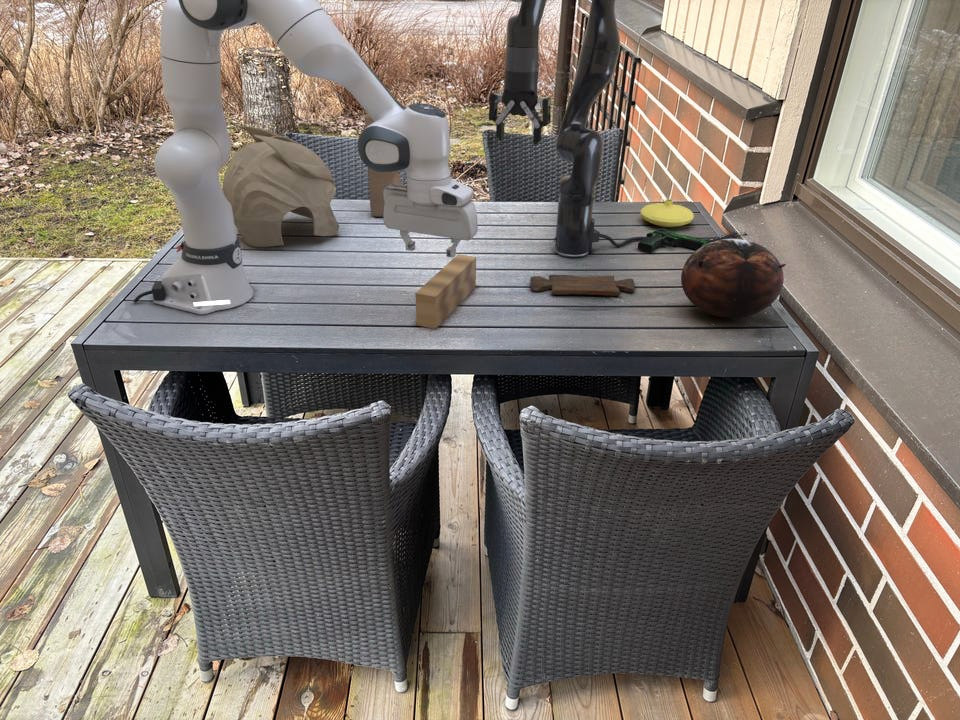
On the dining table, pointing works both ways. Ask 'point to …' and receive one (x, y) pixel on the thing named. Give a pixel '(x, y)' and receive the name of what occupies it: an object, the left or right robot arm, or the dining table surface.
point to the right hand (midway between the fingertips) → (518, 142)
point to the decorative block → (379, 183)
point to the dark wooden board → (581, 285)
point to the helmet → (277, 188)
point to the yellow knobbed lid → (667, 214)
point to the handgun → (669, 240)
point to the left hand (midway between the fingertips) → (430, 253)
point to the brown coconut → (732, 278)
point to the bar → (445, 291)
